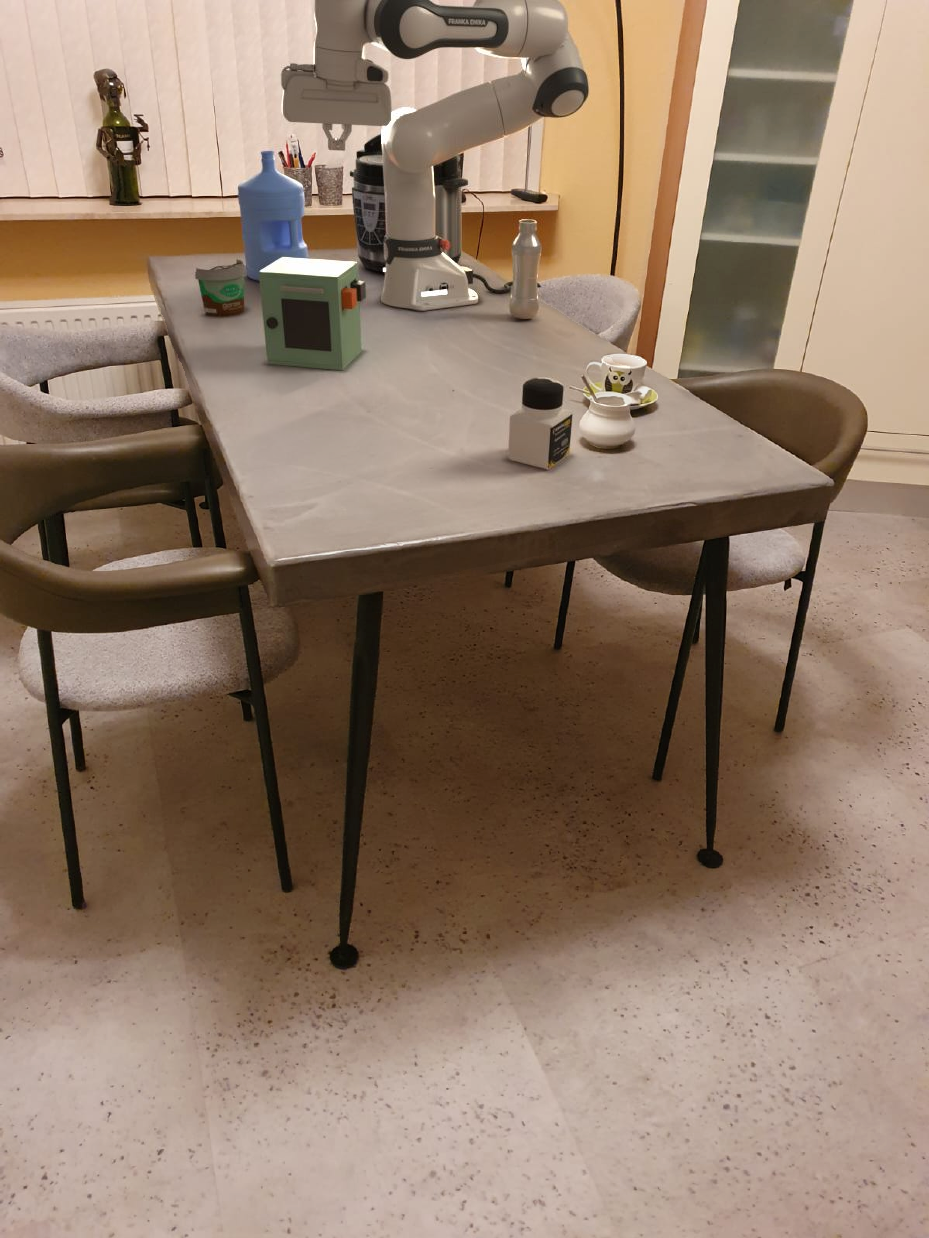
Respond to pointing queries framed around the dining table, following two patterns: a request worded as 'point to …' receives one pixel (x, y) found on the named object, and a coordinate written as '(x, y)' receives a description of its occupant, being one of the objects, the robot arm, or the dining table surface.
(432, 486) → the dining table surface
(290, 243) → the water jug
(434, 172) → the pressure cooker
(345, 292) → the button
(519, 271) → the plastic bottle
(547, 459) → the medicine bottle
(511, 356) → the dining table surface
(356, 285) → the timer button
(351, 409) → the dining table surface
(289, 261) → the green box
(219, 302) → the food container
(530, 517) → the dining table surface
